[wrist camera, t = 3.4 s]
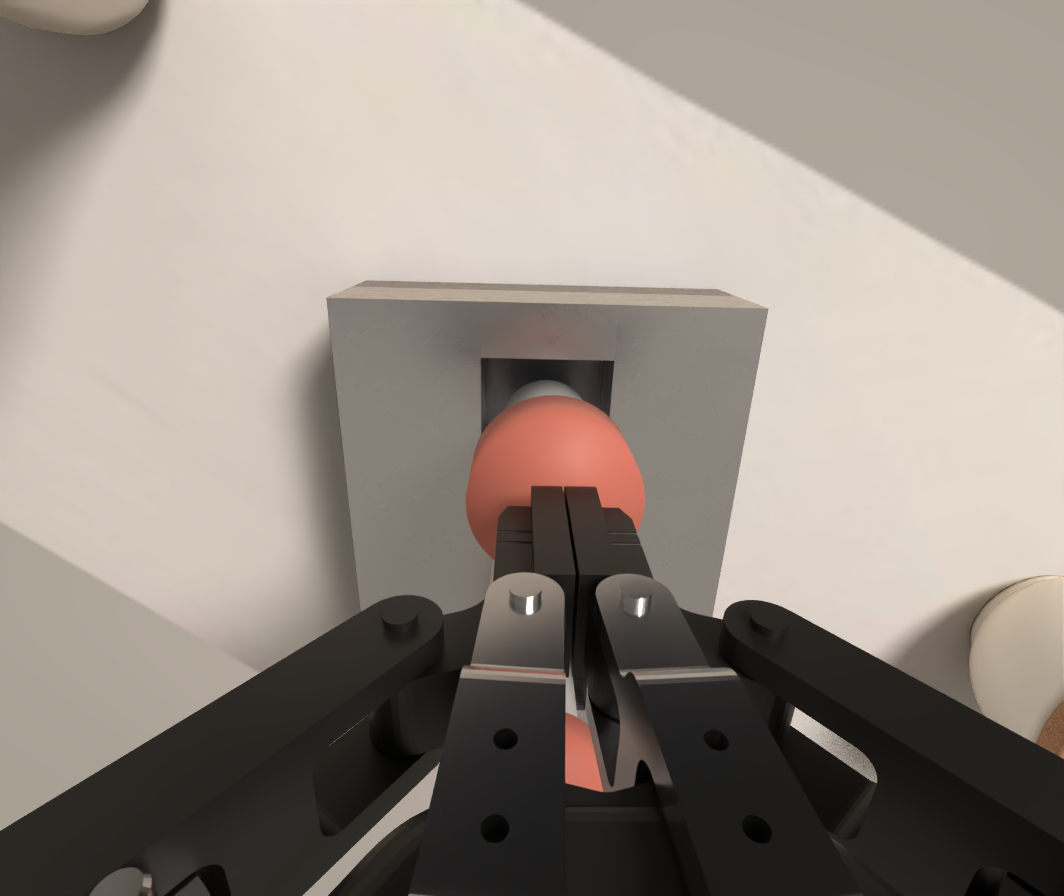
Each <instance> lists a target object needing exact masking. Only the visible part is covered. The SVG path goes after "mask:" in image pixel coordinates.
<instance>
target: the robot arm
mask: <svg viewBox="0 0 1064 896" xmlns="http://www.w3.org/2000/svg"><path fill="white" fill-rule="evenodd" d="M570 660H571V669H572V677H586V680H587V687H588V691H587V703H586V716H587V720H588V725H589V729H590V734H591V738H592V743H593V747H594V752H595V756H596V761H597V765H598V770H599V774H600V779H601V784H602V788H603V792H600V791H596V790H592V789H588V788H584V787H580V786H576V785H572V784H568V783H565V720H566V678H569V668H570ZM795 707H796V708H798V709H799V710H801V711H802V712H804V713H805V714H807V715H808V716H810V717H811V718H813V719H814V720H816V721H817V722H819V723H820V724H822V725H823V726H825V727H826V728H828V729H829V730H831V731H832V732H834V733H835V734H837V735H838V736H840V737H841V738H843V739H844V740H846V741H847V742H849V743H850V744H852V745H853V746H855V747H856V748H858V749H859V750H860V751H861V752H863V753H864V754H865V755H866V756H867V758H868V759H869V760H870V761H871V763H872V764H873V766H874V768H875V771H876V773H877V783H874V782H872V781H870V780H869V779H867V778H866V777H864V776H863V775H861V774H860V773H858V772H857V771H855V770H854V769H853V768H851V767H850V766H848V765H847V764H845V763H844V762H842V761H841V760H840V759H838V758H837V757H835V756H834V755H832V754H831V753H829V752H828V751H827V750H825V749H824V748H822V747H821V746H819V745H818V744H816V743H815V742H814V741H812V740H811V739H809V738H808V737H806V736H805V735H803V734H802V733H801V732H799V731H798V730H796V729H795V728H793V727H792V726H790V724H791V720H792V717H793V713H794V709H795ZM367 715H368V716H367ZM366 716H367V717H366ZM365 717H366V718H365ZM362 719H363V720H362ZM361 720H362V721H361ZM358 722H359V723H358ZM357 723H358V724H357ZM356 724H357V725H356ZM353 726H354V727H353ZM352 727H353V728H352ZM349 729H350V730H349ZM348 730H349V731H348ZM347 731H348V732H347ZM344 733H345V734H344ZM343 734H344V735H343ZM342 735H343V736H342ZM340 736H341V737H340ZM339 737H340V738H339ZM338 738H339V739H338ZM335 740H336V741H335ZM334 741H335V742H334ZM333 742H334V743H333ZM330 744H331V745H330ZM329 745H330V746H329ZM439 762H440V764H439V768H438V772H437V777H436V781H435V785H434V789H433V794H432V798H431V802H430V806H429V809H427V810H425V811H424V812H421V813H419V814H417V815H416V816H414V817H412V818H410V819H409V820H407V821H406V822H404V823H403V824H401V825H400V826H398V827H397V828H396V829H394V830H393V831H392V832H390V833H389V834H388V835H387V836H386V837H385V838H384V839H382V840H381V841H380V842H379V843H378V844H377V845H376V846H375V847H374V848H373V849H372V850H371V851H370V852H369V853H368V854H367V855H366V856H365V857H364V858H363V859H362V860H361V861H360V862H359V863H358V864H357V865H356V866H355V867H354V869H353V870H352V871H351V872H350V873H349V874H348V875H347V876H346V877H345V878H344V879H343V880H342V882H341V883H340V884H339V885H338V886H337V887H336V888H335V889H334V890H333V891H332V892H331V893H330V894H329V895H328V896H1064V759H1063V758H1061V757H1059V756H1058V755H1056V754H1054V753H1052V752H1050V751H1048V750H1046V749H1045V748H1043V747H1041V746H1039V745H1037V744H1035V743H1034V742H1032V741H1030V740H1028V739H1026V738H1024V737H1022V736H1021V735H1019V734H1017V733H1015V732H1013V731H1011V730H1009V729H1008V728H1006V727H1004V726H1002V725H1000V724H998V723H997V722H995V721H993V720H991V719H989V718H987V717H985V716H984V715H982V714H980V713H978V712H976V711H974V710H972V709H971V708H969V707H967V706H965V705H963V704H961V703H960V702H958V701H956V700H954V699H952V698H950V697H948V696H947V695H945V694H943V693H941V692H939V691H937V690H935V689H934V688H932V687H930V686H928V685H926V684H924V683H923V682H921V681H919V680H917V679H915V678H913V677H911V676H910V675H908V674H906V673H904V672H902V671H900V670H898V669H897V668H895V667H893V666H891V665H889V664H887V663H886V662H884V661H882V660H880V659H878V658H876V657H874V656H873V655H871V654H869V653H867V652H865V651H863V650H861V649H860V648H858V647H856V646H854V645H852V644H850V643H849V642H847V641H845V640H843V639H841V638H839V637H837V636H836V635H834V634H832V633H830V632H828V631H826V630H824V629H823V628H821V627H819V626H817V625H815V624H813V623H812V622H810V621H808V620H806V619H804V618H802V617H800V616H799V615H797V614H795V613H793V612H791V611H789V610H787V609H785V608H783V607H781V606H778V605H776V604H772V603H769V602H764V601H758V600H745V601H739V602H736V603H734V604H732V605H730V606H729V607H728V608H727V609H726V611H725V613H724V617H723V620H722V619H718V618H713V617H709V616H705V615H700V614H696V613H693V612H690V611H687V610H684V609H682V608H680V607H679V606H678V604H677V602H676V600H675V598H674V596H673V595H672V593H671V592H670V590H669V589H668V588H667V587H666V586H664V585H663V584H662V583H660V582H658V581H656V580H654V578H653V576H652V573H651V570H650V567H649V564H648V562H647V559H646V556H645V553H644V551H643V548H642V546H641V542H640V540H639V537H638V535H637V531H636V529H635V526H634V523H633V520H632V519H631V518H630V517H629V516H628V515H627V514H626V513H624V512H623V511H622V510H621V509H620V508H608V507H602V506H601V502H600V499H599V495H598V491H597V488H596V487H592V486H564V492H563V487H562V486H531V501H530V506H508V507H507V508H506V509H505V510H504V511H503V512H502V513H501V515H500V516H499V517H498V525H497V537H496V550H495V563H494V575H493V583H492V584H491V585H490V586H489V588H488V589H487V592H486V596H485V599H484V600H483V601H481V602H480V603H478V604H477V605H475V606H473V607H471V608H468V609H465V610H462V611H458V612H454V613H449V614H445V615H443V613H442V610H441V609H440V607H439V606H438V605H437V604H436V603H435V602H433V601H432V600H430V599H427V598H425V597H421V596H415V595H399V596H393V597H390V598H386V599H383V600H381V601H379V602H377V603H375V604H373V605H371V606H370V607H368V608H366V609H365V610H363V611H361V612H360V613H358V614H357V615H355V616H353V617H352V618H350V619H348V620H347V621H345V622H343V623H342V624H340V625H338V626H337V627H335V628H333V629H332V630H330V631H329V632H327V633H325V634H324V635H322V636H320V637H319V638H317V639H315V640H314V641H312V642H310V643H309V644H307V645H305V646H304V647H302V648H301V649H299V650H297V651H296V652H294V653H292V654H291V655H289V656H287V657H286V658H284V659H282V660H281V661H279V662H277V663H276V664H274V665H273V666H271V667H269V668H268V669H266V670H264V671H263V672H261V673H259V674H258V675H256V676H254V677H253V678H251V679H250V680H248V681H246V682H245V683H243V684H241V685H240V686H238V687H236V688H235V689H233V690H231V691H230V692H228V693H226V694H225V695H223V696H222V697H220V698H218V699H217V700H215V701H214V702H212V703H210V704H209V705H207V706H205V707H204V708H202V709H200V710H199V711H197V712H195V713H194V714H192V715H190V716H189V717H187V718H186V719H184V720H182V721H180V722H179V723H177V724H175V725H174V726H173V727H171V728H169V729H167V730H166V731H164V732H162V733H161V734H159V735H157V736H156V737H154V738H152V739H151V740H149V741H148V742H146V743H144V744H143V745H141V746H139V747H138V748H136V749H134V750H133V751H131V752H129V753H128V754H126V755H124V756H123V757H121V758H120V759H118V760H117V761H115V762H113V763H111V764H110V765H108V766H106V767H105V768H103V769H101V770H100V771H98V772H97V773H95V774H93V775H92V776H90V777H88V778H87V779H85V780H83V781H82V782H80V783H79V784H77V785H75V786H73V787H72V788H70V789H68V790H67V791H65V792H64V793H62V794H60V795H59V796H57V797H56V798H54V799H52V800H50V801H49V802H47V803H45V804H44V805H42V806H40V807H39V808H37V809H36V810H34V811H32V812H31V813H29V814H27V815H26V816H24V817H22V818H21V819H19V820H17V821H16V822H14V823H13V824H11V825H9V826H8V827H6V828H4V829H3V830H1V831H0V896H302V895H303V894H304V893H305V892H306V891H308V890H309V889H310V888H311V887H312V886H313V885H314V884H315V883H316V882H317V881H318V880H319V879H320V878H321V877H322V876H323V875H324V874H325V873H326V872H327V871H328V870H329V869H330V868H331V867H332V866H333V865H334V864H335V863H336V862H337V861H339V859H341V858H342V857H343V856H344V855H345V854H346V853H347V852H348V851H349V850H350V849H351V848H352V847H353V846H354V845H355V844H356V843H357V842H358V841H359V840H360V839H361V838H362V837H363V836H364V835H365V834H366V833H367V832H368V831H370V829H372V827H374V826H375V825H376V824H377V823H378V822H379V821H380V820H381V819H382V818H383V817H384V816H385V815H386V814H387V813H388V812H389V811H390V810H391V809H392V808H393V807H394V806H395V805H396V804H397V803H398V802H399V801H400V800H402V798H404V797H405V796H406V795H407V794H408V793H409V792H410V791H411V790H412V789H413V788H414V787H415V786H416V785H417V784H418V783H419V782H420V781H421V780H422V779H423V778H424V777H425V776H426V775H427V774H428V773H429V772H430V771H431V770H433V769H434V768H435V767H436V766H437V765H438V763H439Z"/></svg>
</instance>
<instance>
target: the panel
mask: <svg viewBox="0 0 1064 896" xmlns="http://www.w3.org/2000/svg"><path fill="white" fill-rule="evenodd" d="M326 299H327V308H328V317H329V326H330V336H331V345H332V354H333V363H334V372H335V382H336V391H337V400H338V409H339V418H340V428H341V437H342V446H343V455H344V464H345V474H346V483H347V492H348V501H349V510H350V520H351V529H352V538H353V547H354V556H355V566H356V575H357V584H358V593H359V602H360V612H361V611H363V610H365V609H366V608H368V607H370V606H371V605H373V604H375V603H377V602H379V601H381V600H383V599H386V598H390V597H393V596H399V595H415V596H421V597H425V598H427V599H430V600H432V601H433V602H435V603H436V604H437V605H438V606H439V607H440V609H441V610H442V613H443V615H445V614H449V613H454V612H458V611H462V610H465V609H468V608H471V607H473V606H475V605H477V604H478V603H480V602H481V601H483V600H484V599H485V596H486V592H487V589H488V588H489V585H490V576H491V567H492V558H491V557H490V556H489V555H488V554H487V553H486V552H485V551H484V550H483V549H482V547H481V546H480V545H479V543H478V542H477V540H476V538H475V537H474V535H473V533H472V530H471V528H470V526H469V522H468V518H467V514H466V492H467V486H468V481H469V476H470V471H471V466H472V460H473V456H474V451H475V448H476V445H477V442H478V440H479V438H480V436H481V435H482V433H483V431H484V430H485V429H486V427H487V426H488V424H489V423H490V422H491V421H492V420H493V419H494V418H495V417H496V416H497V415H499V414H500V413H501V412H502V411H503V410H504V407H505V405H506V403H507V401H508V400H509V398H510V397H511V396H512V395H513V393H514V392H515V391H517V390H518V389H519V388H521V387H522V386H524V385H526V384H528V383H531V382H534V381H539V380H553V381H558V382H561V383H564V384H566V385H568V386H570V387H571V388H572V389H574V390H575V391H576V392H577V393H578V394H579V395H580V396H581V397H582V399H583V401H585V402H588V403H590V404H592V405H594V406H596V407H597V408H598V409H600V410H601V411H603V412H604V413H605V414H606V415H607V416H609V417H610V418H611V419H612V420H613V422H614V423H615V424H616V425H617V426H618V428H619V430H620V431H621V433H622V434H623V436H624V438H625V441H626V443H627V445H628V447H629V449H630V451H631V453H632V456H633V458H634V460H635V462H636V464H637V466H638V469H639V471H640V473H641V476H642V480H643V483H644V490H645V508H644V513H643V518H642V521H641V523H640V526H639V528H638V530H637V535H638V537H639V540H640V542H641V546H642V548H643V551H644V553H645V556H646V559H647V562H648V564H649V567H650V570H651V573H652V576H653V578H654V580H656V581H658V582H660V583H662V584H663V585H664V586H666V587H667V588H668V589H669V590H670V592H671V593H672V595H673V596H674V598H675V600H676V602H677V604H678V606H679V607H680V608H682V609H684V610H687V611H690V612H693V613H696V614H700V615H705V616H709V617H712V615H713V610H714V604H715V599H716V593H717V588H718V582H719V577H720V572H721V566H722V561H723V555H724V550H725V544H726V539H727V533H728V528H729V522H730V517H731V511H732V506H733V500H734V495H735V489H736V484H737V478H738V473H739V467H740V462H741V456H742V451H743V445H744V440H745V434H746V429H747V423H748V418H749V412H750V407H751V401H752V396H753V390H754V385H755V379H756V374H757V368H758V363H759V357H760V352H761V346H762V341H763V335H764V330H765V324H766V319H767V313H768V308H766V307H763V306H760V305H758V304H755V303H752V302H750V301H747V300H744V299H742V298H739V297H736V296H734V295H731V294H728V293H726V292H723V291H720V290H717V289H677V288H638V287H598V286H559V285H519V284H480V283H440V282H401V281H364V282H362V283H360V284H357V285H355V286H353V287H350V288H348V289H346V290H343V291H341V292H339V293H336V294H334V295H332V296H329V297H327V298H326ZM570 662H571V660H570ZM573 682H574V691H575V700H576V708H577V717H578V718H580V719H581V720H583V721H584V722H585V723H587V724H588V720H587V716H586V703H587V691H588V687H587V680H586V677H573Z"/></svg>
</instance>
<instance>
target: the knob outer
mask: <svg viewBox="0 0 1064 896" xmlns="http://www.w3.org/2000/svg"><path fill="white" fill-rule="evenodd" d="M565 783H568V784H572V785H576V786H580V787H584V788H588V789H592V790H596V791H600V792H603V788H602V784H601V779H600V774H599V770H598V765H597V761H596V756H595V752H594V747H593V743H592V738H591V734H590V729H589V725H588V724H587V723H585V722H584V721H583V720H581V719H580V718H578V717H577V708H576V700H575V691H574V682H573V677H572V669H571V662H570V668H569V678H566V720H565Z"/></svg>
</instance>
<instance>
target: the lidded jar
mask: <svg viewBox="0 0 1064 896" xmlns="http://www.w3.org/2000/svg"><path fill="white" fill-rule="evenodd" d="M970 643H971V651H970V660H969V672H970V678H971V684H972V689H973V692H974V695H975V698H976V700H977V703H978V705H979V707H980V710H981V712H982V714H983V715H984V716H985V717H987V718H989V719H991V720H993V721H995V722H997V723H998V724H1000V725H1002V726H1004V727H1006V728H1008V729H1009V730H1011V731H1013V732H1015V733H1017V734H1019V735H1021V736H1022V737H1024V738H1026V739H1028V740H1030V741H1032V742H1034V743H1035V744H1037V745H1039V746H1041V747H1043V748H1045V749H1046V750H1048V751H1050V752H1052V753H1054V754H1056V755H1058V756H1059V757H1061V758H1063V759H1064V576H1051V575H1048V576H1039V577H1034V578H1030V579H1026V580H1024V581H1021V582H1018V583H1016V584H1014V585H1012V586H1010V587H1008V588H1006V589H1005V590H1003V591H1001V592H1000V593H999V594H997V595H996V596H995V597H993V598H992V599H991V600H990V601H989V602H988V603H987V604H986V605H985V606H984V607H983V608H982V610H981V611H980V612H979V614H978V615H977V617H976V619H975V621H974V623H973V625H972V629H971V633H970Z"/></svg>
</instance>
